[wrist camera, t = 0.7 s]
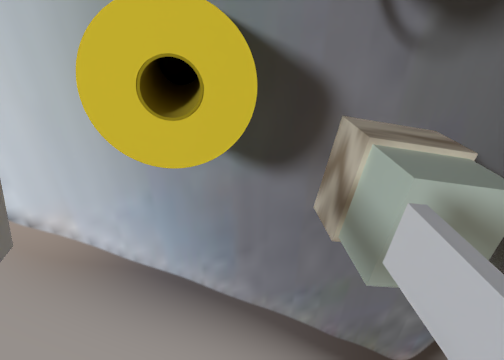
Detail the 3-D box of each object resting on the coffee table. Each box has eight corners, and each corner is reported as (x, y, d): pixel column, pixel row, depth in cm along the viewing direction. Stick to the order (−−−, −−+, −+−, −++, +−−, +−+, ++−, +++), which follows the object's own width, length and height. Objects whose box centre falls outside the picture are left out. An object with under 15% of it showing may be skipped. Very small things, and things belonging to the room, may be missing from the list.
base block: (341, 115, 32) (369, 137, 26) (434, 130, 34) (477, 153, 28) (313, 206, 36) (332, 241, 31) (397, 215, 38) (428, 249, 33)
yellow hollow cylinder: (220, 136, 31) (226, 184, 23) (105, 102, 28) (65, 143, 20) (258, 22, 27) (283, 30, 19) (129, -30, 24) (91, -47, 16)
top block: (372, 144, 27) (414, 178, 21) (469, 158, 28) (530, 193, 23) (338, 237, 30) (366, 285, 25) (425, 245, 32) (469, 291, 27)
